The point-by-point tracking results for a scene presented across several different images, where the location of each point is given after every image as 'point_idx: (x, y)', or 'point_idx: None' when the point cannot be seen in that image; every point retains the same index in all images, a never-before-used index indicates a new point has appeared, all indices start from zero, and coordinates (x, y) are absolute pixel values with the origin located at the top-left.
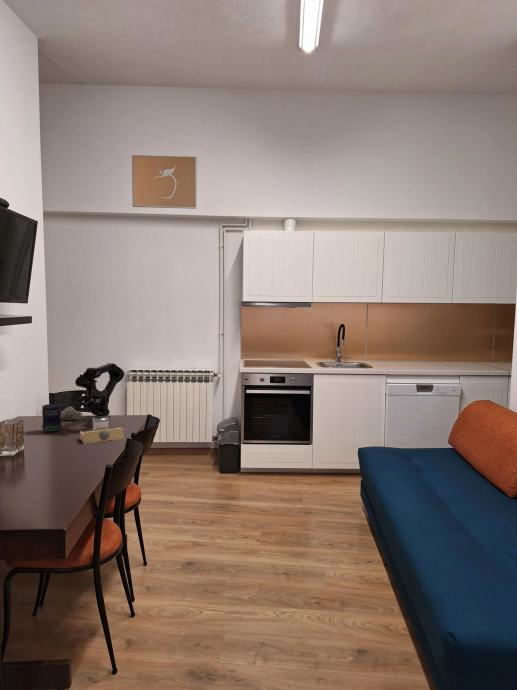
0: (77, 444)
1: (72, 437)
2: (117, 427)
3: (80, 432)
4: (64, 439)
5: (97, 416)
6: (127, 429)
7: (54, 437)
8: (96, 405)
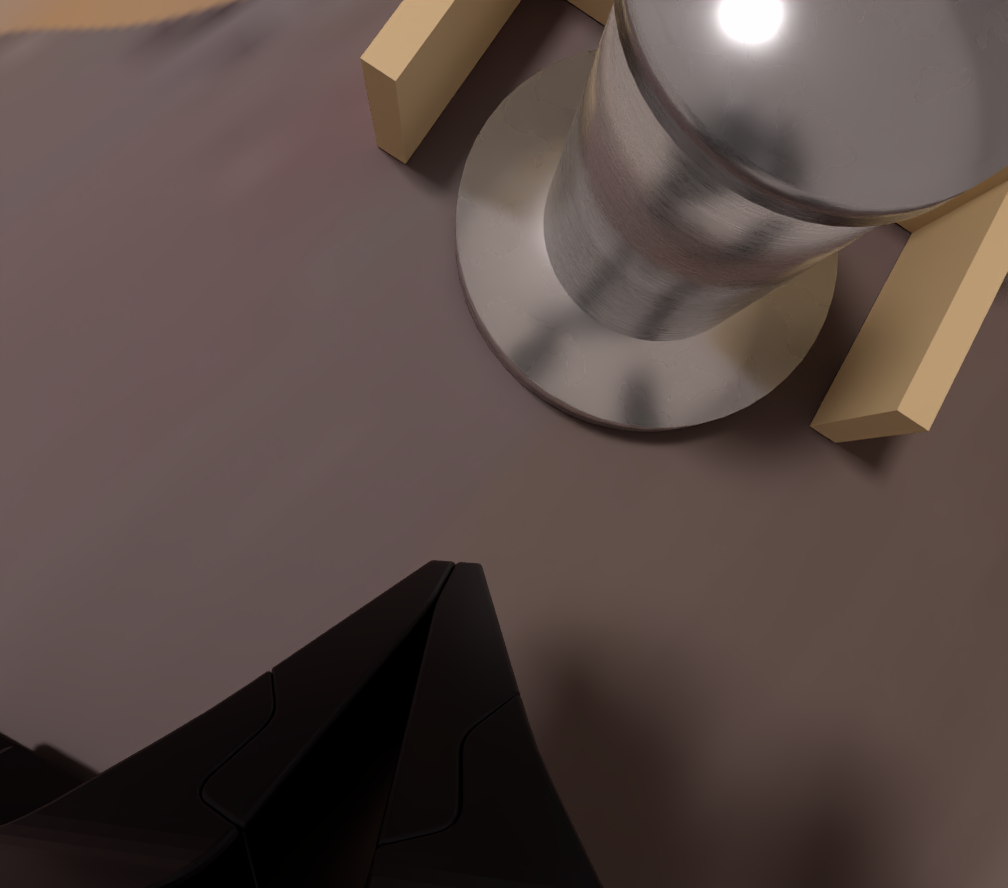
0: (1002, 284)
1: (839, 598)
2: (376, 63)
3: (940, 398)
4: (959, 609)
5: (786, 171)
6: (50, 208)
7: (975, 820)
8: (215, 880)
